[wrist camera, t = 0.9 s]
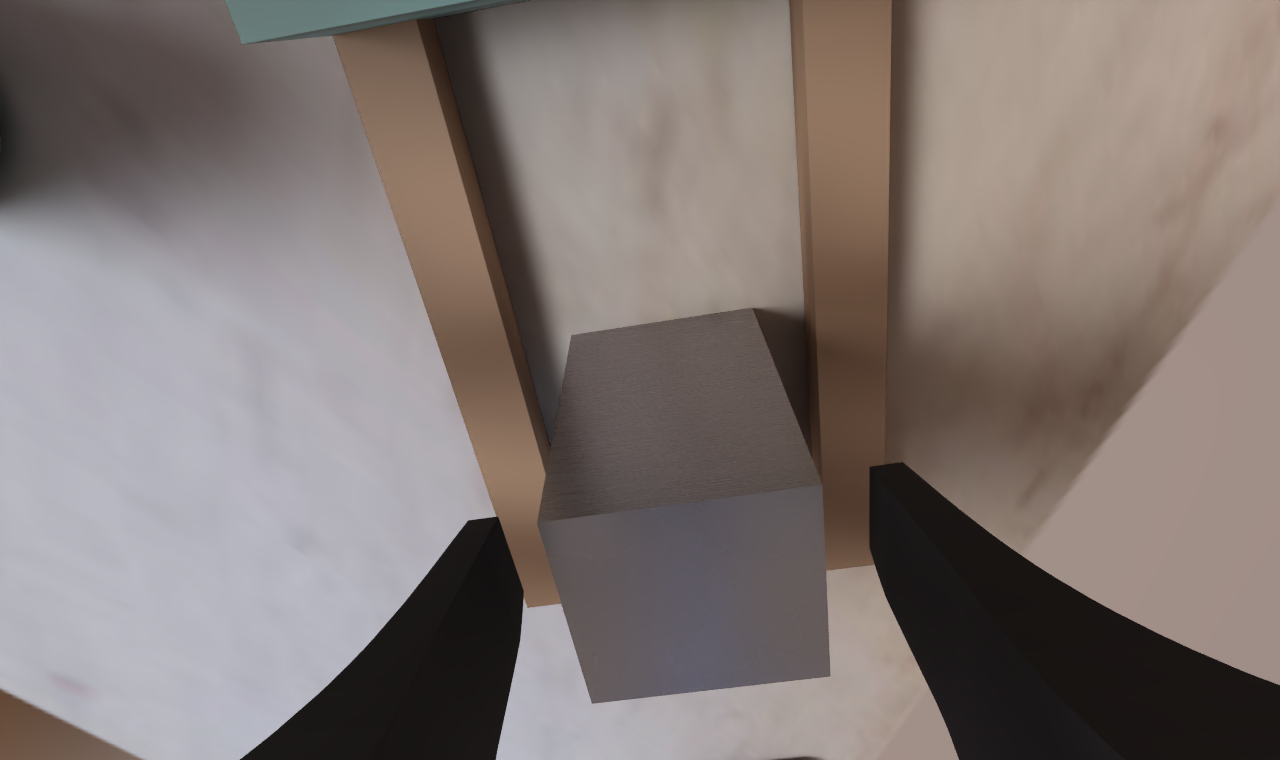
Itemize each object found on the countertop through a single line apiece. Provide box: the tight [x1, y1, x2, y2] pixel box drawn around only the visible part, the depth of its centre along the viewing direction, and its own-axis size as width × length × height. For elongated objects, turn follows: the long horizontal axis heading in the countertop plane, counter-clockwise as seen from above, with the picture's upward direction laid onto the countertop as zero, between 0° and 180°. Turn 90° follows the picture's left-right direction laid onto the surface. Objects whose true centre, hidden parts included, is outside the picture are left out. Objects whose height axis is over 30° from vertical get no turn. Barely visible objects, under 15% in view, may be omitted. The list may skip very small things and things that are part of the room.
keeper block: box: [537, 308, 830, 704], centre depth 15 cm, size 4×4×7 cm
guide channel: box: [225, 0, 892, 608], centre depth 14 cm, size 17×10×4 cm, turn 9°
